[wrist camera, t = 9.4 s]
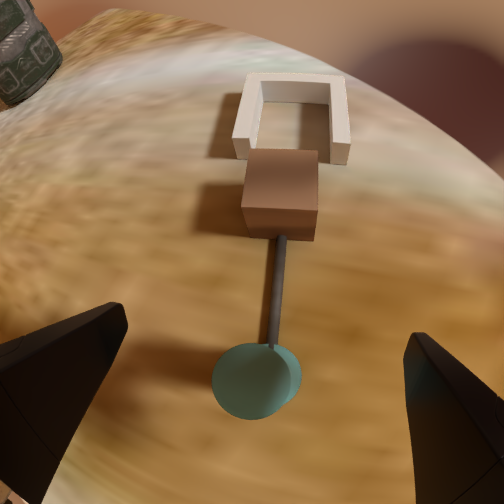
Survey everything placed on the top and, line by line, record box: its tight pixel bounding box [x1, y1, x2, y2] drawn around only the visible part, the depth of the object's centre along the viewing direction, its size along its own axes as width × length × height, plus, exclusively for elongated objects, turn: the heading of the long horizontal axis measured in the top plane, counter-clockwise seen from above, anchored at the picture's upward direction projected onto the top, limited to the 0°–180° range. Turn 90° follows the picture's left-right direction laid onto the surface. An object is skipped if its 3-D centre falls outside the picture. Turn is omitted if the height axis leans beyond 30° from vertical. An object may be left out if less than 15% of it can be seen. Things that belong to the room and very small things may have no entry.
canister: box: [0, 0, 62, 105], centre depth 32 cm, size 16×16×28 cm
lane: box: [232, 73, 351, 165], centre depth 27 cm, size 10×10×3 cm
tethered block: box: [212, 149, 318, 420], centre depth 19 cm, size 18×5×10 cm, turn 174°
